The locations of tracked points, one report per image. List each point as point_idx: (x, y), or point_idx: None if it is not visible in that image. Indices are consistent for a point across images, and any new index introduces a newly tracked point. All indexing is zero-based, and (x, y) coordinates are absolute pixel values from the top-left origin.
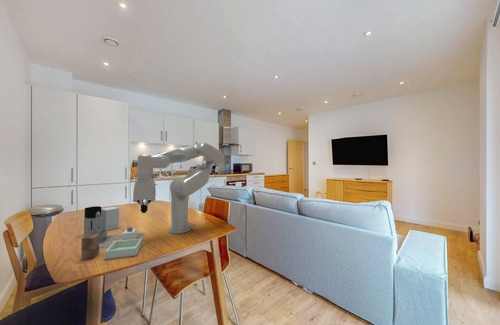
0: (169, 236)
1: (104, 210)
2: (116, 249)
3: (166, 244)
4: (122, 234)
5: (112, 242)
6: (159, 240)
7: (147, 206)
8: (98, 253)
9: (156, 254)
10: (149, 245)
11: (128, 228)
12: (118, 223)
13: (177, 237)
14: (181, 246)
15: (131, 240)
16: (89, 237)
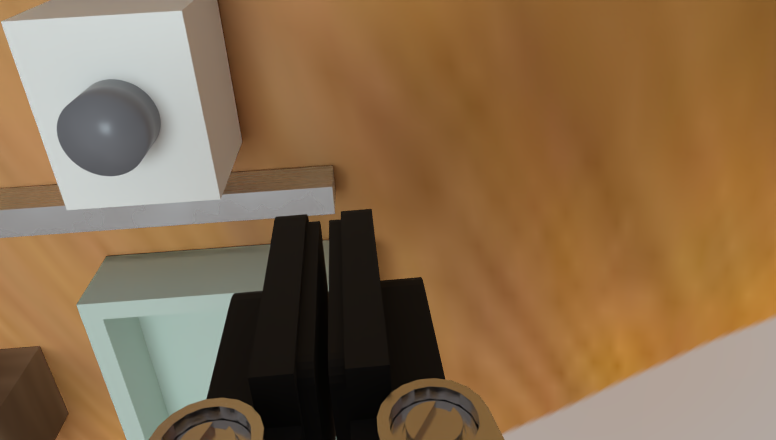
0: (665, 6)
1: None
2: (159, 317)
3: (613, 253)
4: (74, 202)
5: (26, 228)
6: (538, 128)
7: (439, 376)
8: (38, 363)
9: (532, 415)
10: (446, 246)
11: (96, 165)
12: None
13: (757, 72)
14: (740, 319)
15: None
16: None
